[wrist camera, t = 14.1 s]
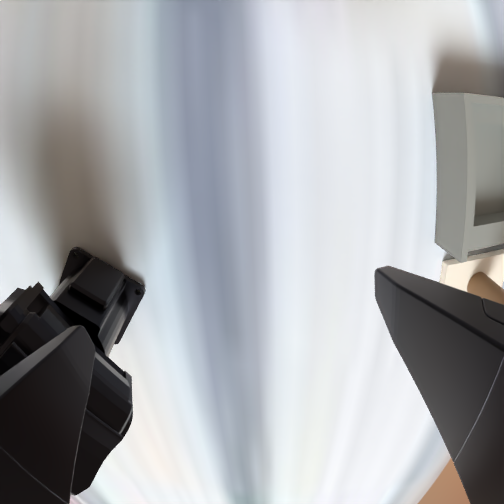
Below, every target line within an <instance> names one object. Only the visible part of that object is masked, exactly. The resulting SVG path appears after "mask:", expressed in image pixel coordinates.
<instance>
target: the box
mask: <svg viewBox="0 0 504 504" xmlns="http://www.w3.org/2000/svg"><path fill="white" fill-rule="evenodd" d="M432 96H433V105H434V116H435V130H436V149H437V213H436V233H435V243H436V244H437V245H438V246H440V247H441V248H442V249H444V250H445V251H446V252H447V253H449V254H450V255H451V256H452V257H454V258H455V259H456V260H457V261H459V262H460V263H463V262H467V256H468V252H470V251H474V250H478V249H483V248H487V247H491V246H496V245H500V244H504V98H503V97H496V96H489V95H481V94H472V93H432Z"/></svg>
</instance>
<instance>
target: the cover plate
mask: <svg viewBox="0 0 504 504" xmlns="http://www.w3.org/2000/svg"><path fill="white" fill-rule="evenodd" d="M503 280H504V249H501V250H496V251H491V252H486V253H481V254H476V255H471V256H467V262H463V263H460V262H459V261H457V260H456V259H451V260H446V261H442V268H441V275H440V281H439V283H442V284H445V285H448V286H451V287H454V288H457V289H460V290H463V291H466V292H468V293H471V294H474V295H477V296H480V297H481V298H486V299H489V300H491V301H494V302H497V303H500V304H503V305H504V289H503V288H502V284H503Z"/></svg>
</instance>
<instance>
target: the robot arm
mask: <svg viewBox="0 0 504 504" xmlns="http://www.w3.org/2000/svg"><path fill="white" fill-rule="evenodd" d="M75 253H77V254H78V256H76V255H75ZM136 289H138V290H140V291H141V292H140V293H139V292H137V291H136ZM144 294H145V288H144V286H143V285H141V284H140V283H138V282H136V281H134V280H132V279H131V278H129V277H127V276H125V275H124V274H123V273H122V272H120V271H119V270H117V269H115V268H113V267H112V266H110V265H108V264H107V263H105V262H103V261H102V260H100V259H98V258H97V257H93V256H92V255H90V254H88V253H87V252H85V251H83V250H82V249H80V248H78V247H74V248H73V249H72V250H71V251H70V253H69V256H68V259H67V262H66V265H65V268H64V271H63V274H62V277H61V280H60V283H59V287H58V288H57V289H56V290H55V291H54V292H53V294H52V295H51V296H50V297H49V296H48V295H47V294H46V292H45V291H44V290H43V286H42V285H41V284H40V283H39V282H38V283H37V284H36V285H35V286H34V287H33V288H32V287H31V286H29V287H28V288H27V289H26V290H24V289H20V288H17V289H16V290H15V291H14V292H13V293H12V294H11V295H10V296H9V297H8V298H7V299H6V300H5V301H4V302H3V303H2V304H0V504H69V503H70V494H71V495H77V494H79V493H81V492H82V491H84V490H86V489H87V488H89V487H90V485H91V483H92V481H93V480H94V478H95V476H96V474H97V472H98V470H99V468H100V466H101V465H102V463H103V461H104V460H105V459H106V457H107V456H108V455H109V453H110V452H111V451H112V450H113V449H114V448H115V447H116V446H117V445H118V444H119V443H120V442H121V440H122V439H123V437H124V436H125V434H126V433H127V431H128V429H129V427H130V425H131V421H132V417H133V404H132V378H131V375H129V374H128V373H127V372H126V371H123V370H122V369H120V368H119V367H118V366H117V365H116V364H115V363H114V362H113V361H112V360H111V359H109V358H108V356H109V354H110V352H111V350H112V347H113V345H114V344H118V343H119V342H120V340H121V338H122V336H123V334H124V332H125V330H126V328H127V326H128V324H129V322H130V320H131V318H132V317H133V315H134V313H135V311H136V309H137V307H138V305H139V303H140V301H141V299H142V298H143V296H144ZM375 297H376V301H377V304H378V306H379V308H380V311H381V313H382V316H383V318H384V320H385V323H386V325H387V328H388V330H389V333H390V335H391V337H392V340H393V342H394V344H395V346H396V348H397V350H398V351H399V353H400V355H401V357H402V359H403V361H404V363H405V364H406V366H407V368H408V370H409V372H410V374H411V376H412V378H413V380H414V381H415V383H416V385H417V387H418V389H419V391H420V393H421V395H422V397H423V399H424V401H425V403H426V405H427V407H428V409H429V411H430V413H431V415H432V417H433V419H434V421H435V423H436V425H437V428H438V430H439V432H440V434H441V436H442V438H443V440H444V443H445V445H446V447H447V449H448V451H449V454H450V456H451V458H452V460H453V462H454V465H455V468H456V470H457V472H458V474H459V477H460V479H461V482H462V484H463V486H464V489H465V491H466V494H467V496H468V499H469V501H470V504H504V305H503V304H500V303H497V302H494V301H491V300H489V299H486V298H481V297H480V296H477V295H474V294H471V293H468V292H466V291H463V290H460V289H457V288H454V287H451V286H448V285H445V284H442V283H439V282H436V281H433V280H430V279H427V278H424V277H421V276H418V275H415V274H412V273H409V272H406V271H403V270H400V269H397V268H394V267H391V266H385V267H381V268H377V269H376V270H375Z"/></svg>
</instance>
